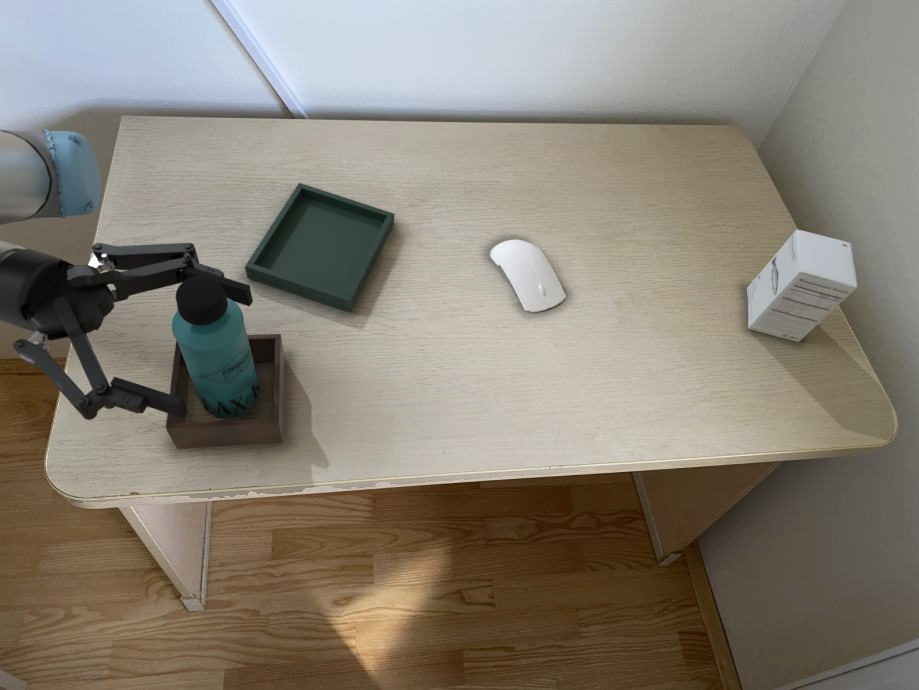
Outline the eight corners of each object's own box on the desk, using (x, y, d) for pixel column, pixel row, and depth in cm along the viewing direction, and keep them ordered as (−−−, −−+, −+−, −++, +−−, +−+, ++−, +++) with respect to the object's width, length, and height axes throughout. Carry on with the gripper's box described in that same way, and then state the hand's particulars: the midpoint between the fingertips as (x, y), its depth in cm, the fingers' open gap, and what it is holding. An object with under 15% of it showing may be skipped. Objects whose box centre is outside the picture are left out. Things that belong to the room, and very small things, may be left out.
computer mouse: (527, 316, 84) (531, 306, 83) (482, 249, 89) (485, 238, 88) (570, 300, 87) (575, 289, 85) (524, 235, 92) (527, 224, 90)
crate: (176, 449, 69) (165, 428, 65) (186, 360, 75) (176, 336, 71) (283, 443, 71) (278, 423, 67) (284, 357, 77) (280, 333, 72)
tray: (350, 312, 81) (350, 301, 79) (247, 278, 82) (244, 266, 80) (393, 225, 90) (394, 213, 88) (300, 194, 90) (299, 182, 88)
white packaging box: (744, 288, 92) (795, 226, 82) (796, 301, 92) (854, 241, 82) (745, 330, 88) (799, 271, 78) (799, 344, 88) (860, 287, 78)
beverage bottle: (190, 415, 71) (140, 308, 55) (222, 366, 75) (184, 252, 58) (245, 436, 71) (212, 335, 54) (275, 386, 74) (252, 276, 58)
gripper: (98, 222, 75) (276, 277, 74) (-55, 409, 61) (161, 479, 60) (75, 172, 68) (269, 232, 67) (-102, 368, 55) (139, 446, 54)
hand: (219, 349), depth 64 cm, fingers open, 13 cm apart
